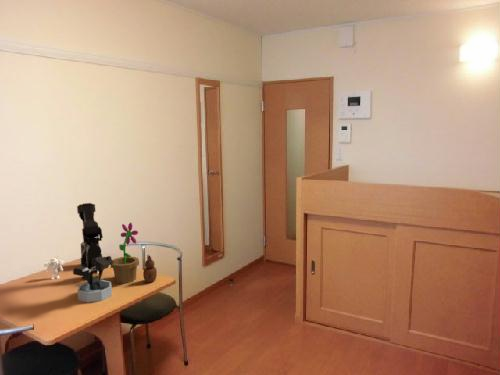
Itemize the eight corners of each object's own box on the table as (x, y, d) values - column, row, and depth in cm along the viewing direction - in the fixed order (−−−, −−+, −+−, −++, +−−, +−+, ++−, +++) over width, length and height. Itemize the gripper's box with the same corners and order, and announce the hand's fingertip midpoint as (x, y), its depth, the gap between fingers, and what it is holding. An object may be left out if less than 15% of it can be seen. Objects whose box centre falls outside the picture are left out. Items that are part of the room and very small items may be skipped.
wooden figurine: (149, 284, 200) (148, 256, 198) (141, 282, 203) (140, 254, 201) (159, 280, 206) (158, 252, 204) (151, 278, 209) (150, 250, 207)
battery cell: (95, 285, 190) (94, 266, 189) (102, 287, 188) (101, 268, 187) (87, 289, 186) (86, 269, 185) (94, 291, 184) (93, 271, 183)
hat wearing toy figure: (64, 275, 213) (62, 254, 211) (64, 277, 209) (63, 256, 207) (45, 278, 208) (43, 256, 207) (45, 281, 205) (43, 258, 203)
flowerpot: (145, 277, 210) (143, 222, 205) (125, 287, 197) (123, 228, 193) (125, 273, 216) (123, 219, 212) (105, 282, 204) (101, 225, 199)
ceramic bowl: (96, 287, 197) (95, 278, 197) (118, 292, 191) (117, 283, 190) (71, 298, 184) (71, 289, 184) (94, 304, 178) (93, 294, 177)
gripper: (88, 260, 173) (91, 293, 175) (120, 248, 189) (121, 279, 192) (71, 256, 178) (73, 289, 180) (103, 245, 194) (105, 275, 197)
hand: (94, 283), depth 187 cm, fingers closed on battery cell, 4 cm apart
